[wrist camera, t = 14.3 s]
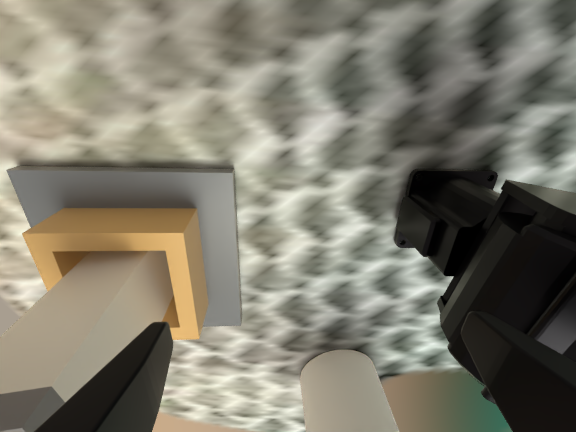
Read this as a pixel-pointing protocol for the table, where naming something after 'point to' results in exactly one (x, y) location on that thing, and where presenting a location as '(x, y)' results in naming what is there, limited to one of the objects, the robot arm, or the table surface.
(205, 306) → the socket plate
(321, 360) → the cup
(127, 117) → the table surface
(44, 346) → the plug
